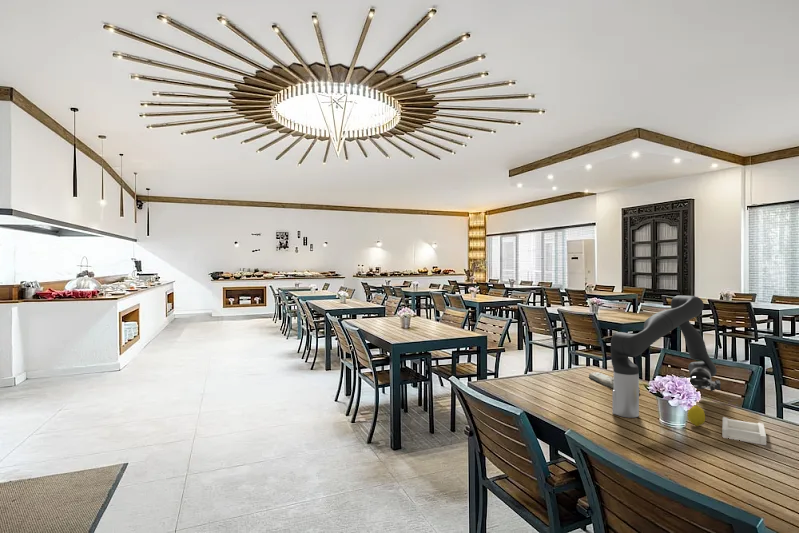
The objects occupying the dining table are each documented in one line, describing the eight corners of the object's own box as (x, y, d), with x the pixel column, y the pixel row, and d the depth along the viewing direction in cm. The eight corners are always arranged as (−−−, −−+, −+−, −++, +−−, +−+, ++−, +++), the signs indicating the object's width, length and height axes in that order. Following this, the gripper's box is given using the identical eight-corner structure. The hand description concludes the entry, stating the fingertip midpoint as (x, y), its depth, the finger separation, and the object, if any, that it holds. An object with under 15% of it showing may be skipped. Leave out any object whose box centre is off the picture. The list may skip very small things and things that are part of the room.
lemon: (708, 429, 166) (708, 408, 166) (691, 428, 167) (691, 407, 167) (701, 424, 171) (701, 403, 171) (685, 423, 172) (685, 402, 172)
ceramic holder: (722, 437, 158) (722, 429, 158) (722, 424, 170) (722, 416, 170) (766, 445, 151) (766, 436, 151) (763, 431, 163) (763, 423, 163)
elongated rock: (600, 378, 244) (583, 381, 242) (599, 369, 244) (583, 371, 242) (647, 393, 209) (628, 396, 207) (646, 382, 210) (627, 385, 208)
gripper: (680, 366, 196) (677, 375, 182) (720, 371, 187) (720, 380, 174) (680, 384, 196) (677, 393, 183) (721, 388, 187) (720, 399, 174)
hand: (698, 387), depth 178 cm, fingers open, 8 cm apart
